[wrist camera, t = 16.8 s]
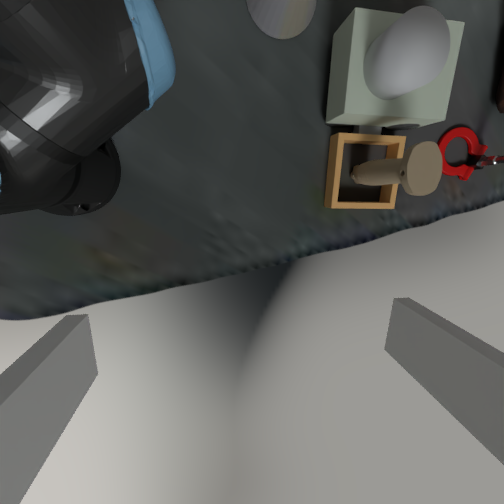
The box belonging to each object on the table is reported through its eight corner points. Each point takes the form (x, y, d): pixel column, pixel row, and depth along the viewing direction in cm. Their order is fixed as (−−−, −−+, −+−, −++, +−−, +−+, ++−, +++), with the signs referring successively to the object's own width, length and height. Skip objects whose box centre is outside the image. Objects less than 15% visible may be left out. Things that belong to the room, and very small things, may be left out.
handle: (346, 194, 46) (407, 199, 32) (343, 158, 44) (406, 145, 30) (370, 189, 46) (441, 191, 32) (369, 153, 45) (443, 138, 30)
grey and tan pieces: (313, 206, 46) (351, 215, 33) (327, 41, 39) (380, -25, 27) (392, 207, 48) (454, 215, 36) (418, 52, 41) (506, -5, 29)
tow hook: (423, 162, 47) (459, 185, 49) (495, 152, 35) (539, 183, 37) (449, 119, 46) (484, 144, 48) (533, 93, 33) (577, 128, 35)
